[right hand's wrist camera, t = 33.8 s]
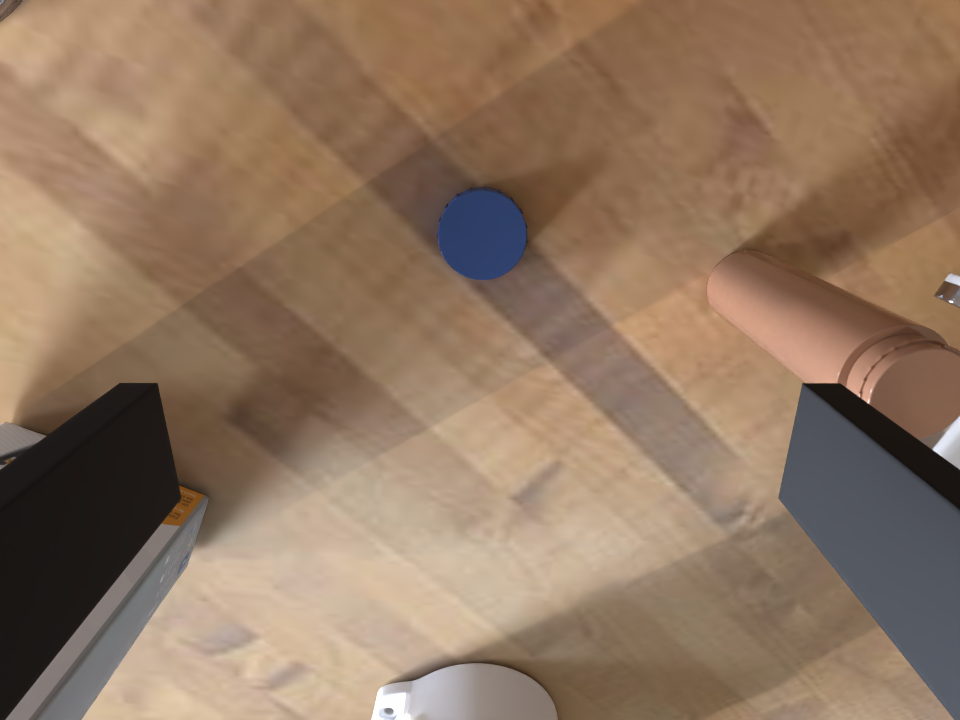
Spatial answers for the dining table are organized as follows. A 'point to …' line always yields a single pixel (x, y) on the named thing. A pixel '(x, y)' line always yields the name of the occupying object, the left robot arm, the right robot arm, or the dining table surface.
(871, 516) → the right robot arm
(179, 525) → the hard drive box
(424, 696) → the left robot arm
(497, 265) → the lid
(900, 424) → the jar
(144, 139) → the dining table surface
